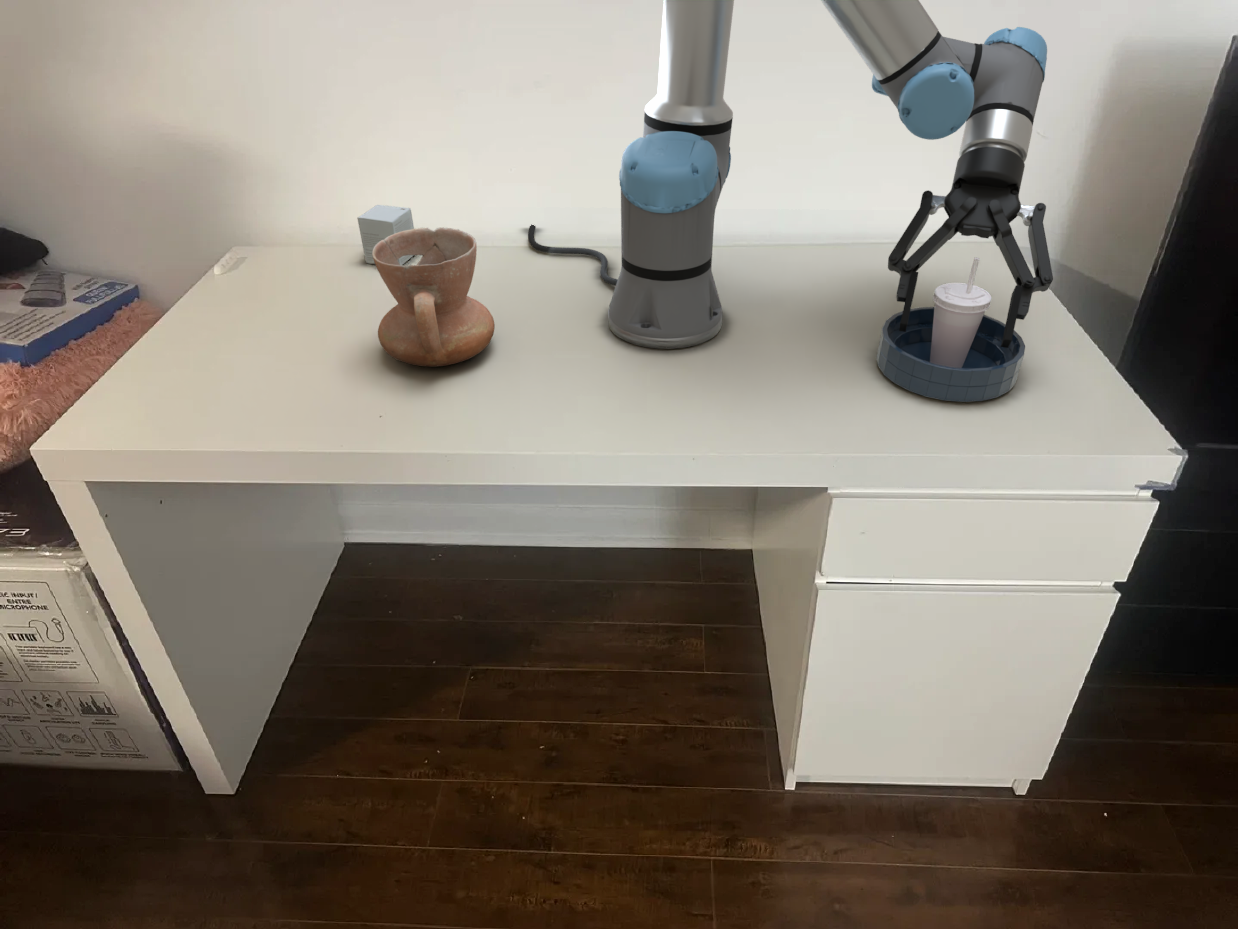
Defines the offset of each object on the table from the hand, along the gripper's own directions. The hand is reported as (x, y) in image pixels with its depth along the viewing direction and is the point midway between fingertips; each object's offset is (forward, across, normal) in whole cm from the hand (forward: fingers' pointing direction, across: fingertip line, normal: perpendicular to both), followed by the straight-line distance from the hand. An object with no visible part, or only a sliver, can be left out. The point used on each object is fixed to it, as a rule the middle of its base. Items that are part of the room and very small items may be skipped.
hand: (953, 335), depth 101 cm
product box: (-2, +83, -11) cm, 84 cm away
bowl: (+2, 0, -6) cm, 7 cm away
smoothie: (+2, 0, -6) cm, 6 cm away
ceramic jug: (+15, +61, +6) cm, 63 cm away
